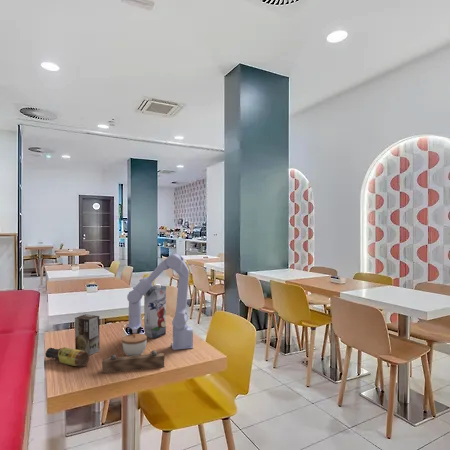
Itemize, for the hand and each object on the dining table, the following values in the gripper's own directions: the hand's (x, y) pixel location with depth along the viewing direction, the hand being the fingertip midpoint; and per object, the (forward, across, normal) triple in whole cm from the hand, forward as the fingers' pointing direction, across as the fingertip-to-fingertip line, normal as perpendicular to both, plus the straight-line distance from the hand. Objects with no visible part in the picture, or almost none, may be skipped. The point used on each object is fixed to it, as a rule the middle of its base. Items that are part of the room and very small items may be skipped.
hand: (135, 343), depth 160 cm
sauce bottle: (-2, +18, -20) cm, 27 cm away
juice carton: (+2, -14, +10) cm, 17 cm away
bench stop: (+1, +25, 0) cm, 25 cm away
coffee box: (+2, +2, -21) cm, 21 cm away
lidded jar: (+2, +10, 0) cm, 11 cm away
